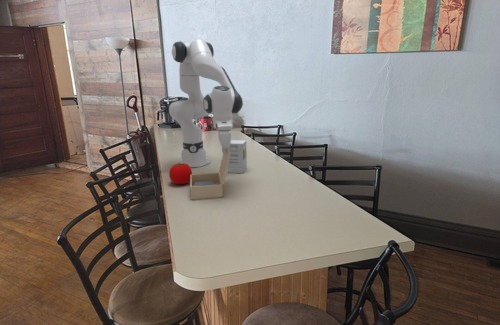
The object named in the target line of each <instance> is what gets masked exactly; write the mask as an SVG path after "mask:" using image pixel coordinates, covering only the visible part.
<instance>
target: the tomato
mask: <svg viewBox="0 0 500 325" xmlns="http://www.w3.org/2000/svg"><path fill="white" fill-rule="evenodd" d="M168 173H169V174H168V176H169V179H170V181H171V182H172V183H173V184H175V185H186V184H188V183H189V182H190V175H193V170H192V167H190V166H189V165H188V164H184V163H181V164H180V162H179V163H177V164H176V163H175V164H173V165H172V166H171V167H170V169H169V172H168Z"/></svg>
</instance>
